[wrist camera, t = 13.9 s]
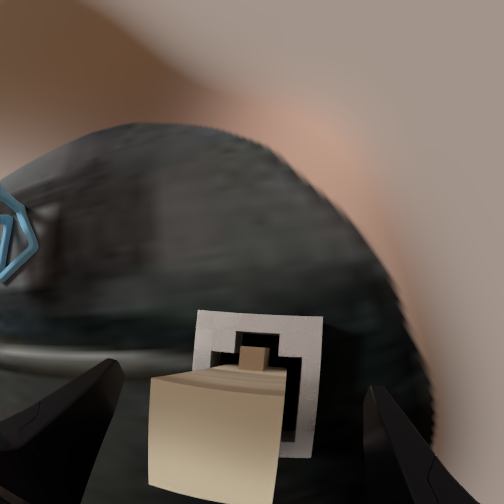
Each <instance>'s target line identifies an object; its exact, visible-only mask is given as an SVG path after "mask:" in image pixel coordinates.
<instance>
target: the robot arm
mask: <svg viewBox="0 0 504 504" xmlns="http://www.w3.org/2000/svg"><path fill="white" fill-rule="evenodd" d="M124 378H125V376H124V372H123V370H122V368H121V366H120V364H119V362H118V361H117V360H114V359H110V358H108V359H106V360H104V361H102V362H101V363H99V364H98V365H96V366H95V367H93V368H91V369H90V370H88V371H87V372H85V373H83V374H82V375H80V376H79V377H77V378H76V379H74V380H72V381H71V382H69V383H68V384H66V385H64V386H63V387H61V388H60V389H58V390H56V391H55V392H53V393H52V394H50V395H48V396H47V397H45V398H44V399H42V400H41V401H39V402H37V403H35V404H34V405H32V406H30V407H29V408H27V409H25V410H23V411H21V412H19V413H17V414H15V415H13V416H11V417H9V418H7V419H5V420H3V421H0V504H80V503H81V500H82V497H83V494H84V491H85V488H86V485H87V482H88V479H89V477H90V474H91V471H92V468H93V465H94V463H95V460H96V457H97V455H98V452H99V449H100V447H101V444H102V442H103V439H104V437H105V434H106V432H107V429H108V427H109V424H110V422H111V419H112V417H113V414H114V412H115V409H116V406H117V402H118V399H119V395H120V392H121V389H122V386H123V382H124ZM363 444H364V455H365V466H366V479H367V494H368V504H480V503H478V502H477V501H476V500H475V499H474V498H473V497H472V496H471V495H470V494H469V493H468V492H467V491H466V490H465V489H464V488H463V487H462V486H461V485H460V484H459V483H458V482H457V481H456V480H455V479H454V477H453V476H452V475H451V474H450V473H449V472H448V471H447V469H446V468H445V467H444V465H443V464H442V463H441V461H440V460H439V459H438V458H437V456H435V453H434V452H433V451H432V449H431V448H430V447H429V445H428V444H427V443H426V441H425V440H424V439H423V437H422V436H421V435H420V433H419V432H418V431H417V429H416V428H415V427H414V425H413V424H412V423H411V422H410V420H409V419H408V418H407V416H406V415H405V414H404V412H403V411H402V410H401V408H400V407H399V406H398V404H397V403H396V402H395V401H394V399H393V398H392V397H391V395H390V394H389V393H388V392H387V390H386V389H385V388H384V386H383V385H380V384H379V385H371V386H370V387H369V389H368V391H367V393H366V396H365V398H364V402H363Z"/></svg>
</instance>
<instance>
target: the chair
mask: <svg viewBox="0 0 504 504" xmlns="http://www.w3.org/2000/svg"><path fill="white" fill-rule="evenodd" d="M0 201H2V202H4V203H5V204H6V205H8V206H9V207H10V208H12V209H13V210H14V211H15V212H16V214H17V217H18V220H19V222H20V225H21V227H22V230H23V232H24V234H25V236H26V238H27V241H28V243H29V246H28V247H27V248H26V249H25V250H24V251H23V252H22V253H21V254H20V255H19V256H18V257H17V258H16V259H15V260H14V261H12V262H11V263H10V264H9V265H8V266H7V267H6V268H5V266H6V259H7V252H8V246H9V241H10V236H11V230H12V225H13V217H12V216H10V215H0V224H4V229H3V235H2V240H1V246H0V282H1V283H4V282H5V281H6V280H7V279H8V278H9V277H10V276H11V275H12V274H13V273H14V272H15V271H16V270H17V269H19V268H20V267H21V266H22V265H23V264H24V263H25V262H26V261H27V260H28V259H29V258H30V257H31V256H33V255H34V254H35V253H36V252H37V251H38V249H39V246H38V242H37V239H36V236H35V234H34V231H33V229H32V227H31V224H30V222H29V219H28V217H27V214H26V210H25V206H24V205H23V204H21V203H19V202H18V201H17V200H16V199H14V198H13V197H12V196H11V195H10V194H9V193H8V192H7V191H6V190H5V189H4V188H3V187H2V185H1V184H0Z"/></svg>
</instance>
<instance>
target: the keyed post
mask: <svg viewBox="0 0 504 504" xmlns="http://www.w3.org/2000/svg"><path fill="white" fill-rule="evenodd" d="M269 355H270V348H262V347H248V346H240V357H239V364H227V365H222V366H217V367H213V368H207V369H202V370H197V371H192V372H186V373H180V374H174V375H168V376H161V377H154V378H151V389H150V407H149V435H148V475H149V484H150V485H153V486H156V487H159V488H162V489H166V490H169V491H173V492H176V493H180V494H184V495H188V496H192V497H196V498H201V499H205V500H210V501H216V502H221V503H227V504H272V501H273V494H274V487H275V479H276V471H277V464H278V455H279V447H280V438H281V429H282V419H283V409H284V398H285V387H286V374H287V368H282V367H269Z"/></svg>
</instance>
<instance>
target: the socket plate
mask: <svg viewBox="0 0 504 504" xmlns="http://www.w3.org/2000/svg"><path fill="white" fill-rule="evenodd" d="M322 326H323V317H311V316H282V315H261V314H244V313H229V312H216V311H204V310H198V315H197V325H196V335H195V345H194V356H193V368H192V371H197V370H202V369H207V368H213V367H217V366H220V362H221V352H228V353H240V346H242V340H243V334H257V335H275V336H280V338H279V352H278V356H283V357H300V370H299V383H298V395H297V406H296V416H295V426H294V431H290V430H281V438H280V447H279V455H278V457H288V458H311V453H312V446H313V438H314V430H315V421H316V412H317V401H318V390H319V378H320V364H321V347H322Z"/></svg>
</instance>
